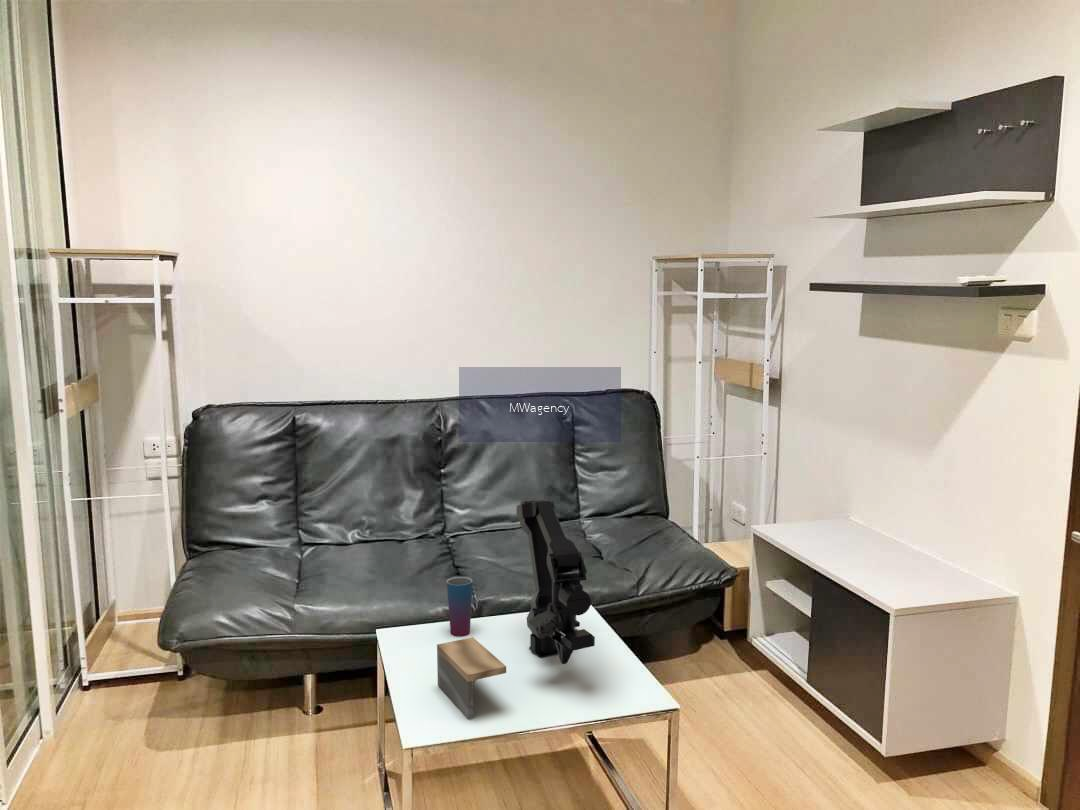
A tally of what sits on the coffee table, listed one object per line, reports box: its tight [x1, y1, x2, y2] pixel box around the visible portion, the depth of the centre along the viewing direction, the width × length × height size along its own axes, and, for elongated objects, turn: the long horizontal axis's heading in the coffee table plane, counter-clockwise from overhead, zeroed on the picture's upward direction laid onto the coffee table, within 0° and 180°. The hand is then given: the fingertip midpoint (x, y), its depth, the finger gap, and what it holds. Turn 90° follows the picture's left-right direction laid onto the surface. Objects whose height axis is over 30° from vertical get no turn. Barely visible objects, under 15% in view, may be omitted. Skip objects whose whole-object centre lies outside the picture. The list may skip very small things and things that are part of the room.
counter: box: [436, 636, 507, 721], centre depth 191 cm, size 9×18×10 cm, turn 28°
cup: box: [446, 576, 473, 638], centre depth 226 cm, size 7×7×15 cm
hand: (563, 663), depth 202 cm, fingers closed
